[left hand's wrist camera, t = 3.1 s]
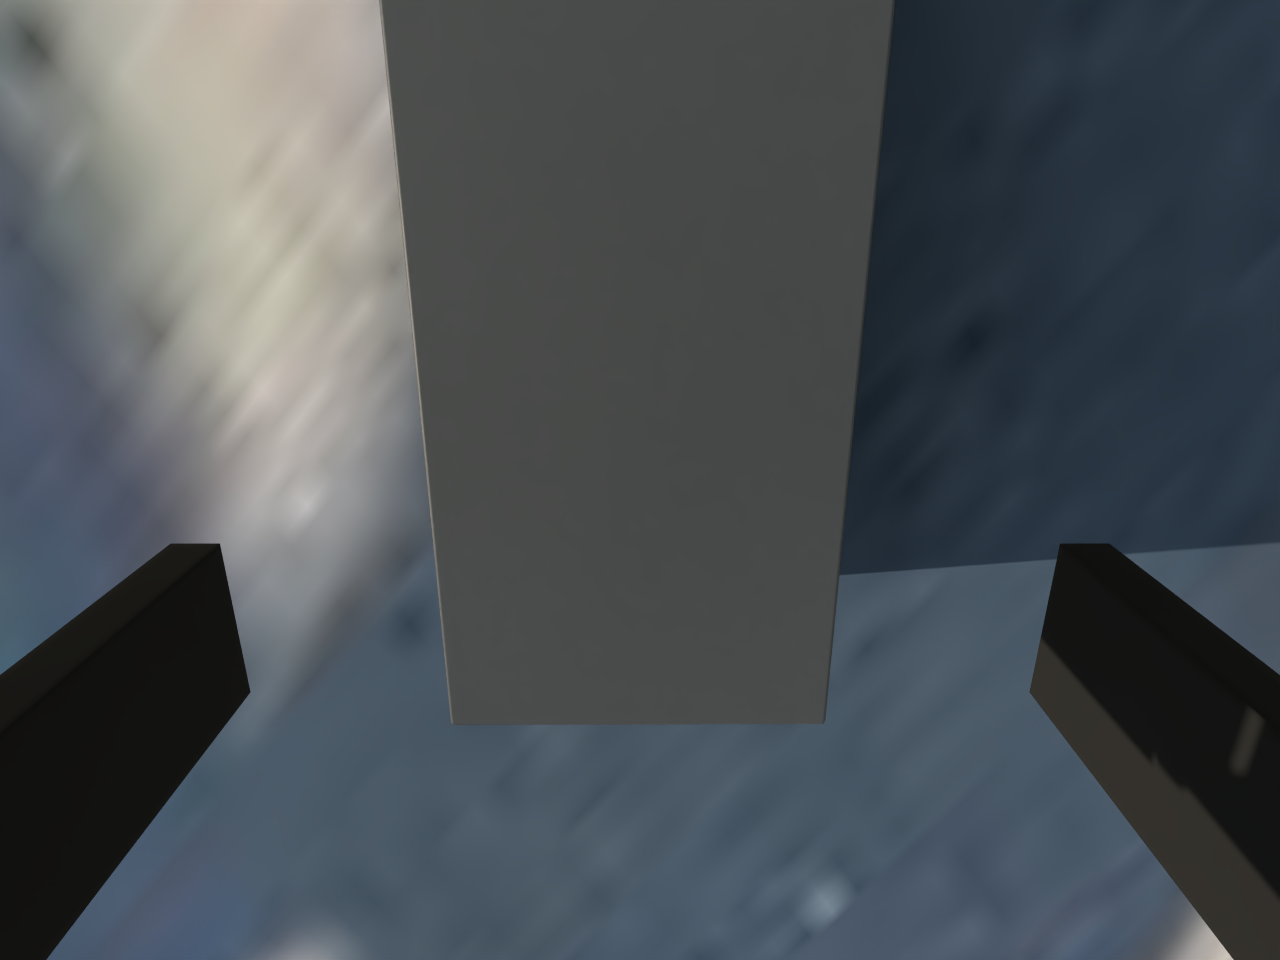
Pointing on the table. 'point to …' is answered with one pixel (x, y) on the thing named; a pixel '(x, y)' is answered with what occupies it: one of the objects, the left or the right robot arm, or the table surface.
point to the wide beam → (637, 342)
